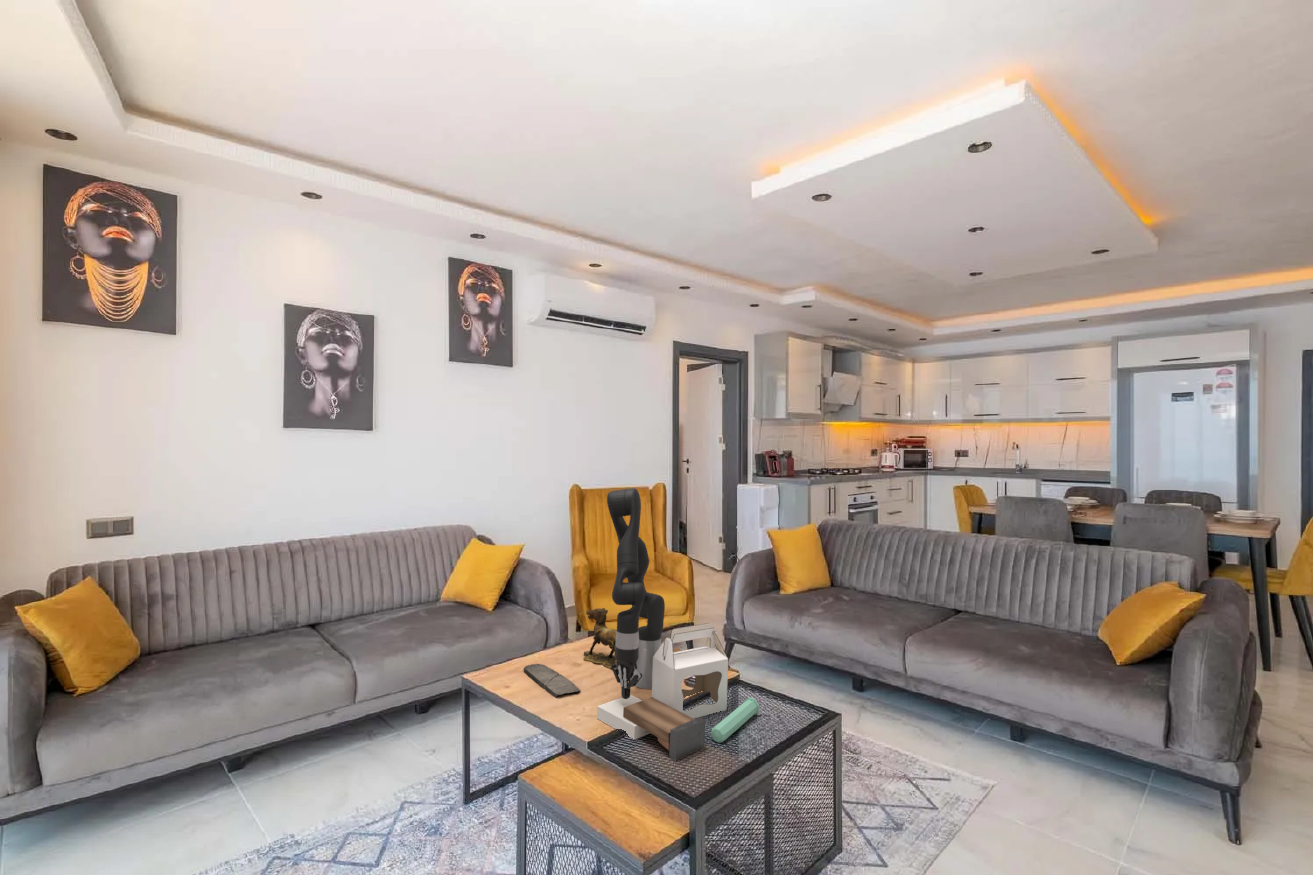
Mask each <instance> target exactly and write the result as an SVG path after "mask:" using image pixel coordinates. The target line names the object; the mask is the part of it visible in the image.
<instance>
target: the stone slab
mask: <svg viewBox="0 0 1313 875" xmlns="http://www.w3.org/2000/svg"><path fill="white" fill-rule="evenodd" d="M523 673H524V674H525V675H526V676H527V677H528V678H530V679H531V680H532V681H533V682H534V683H535V684H536V685H538V686H539V687H540V688H542V689H543V690H544V691H546V692H547V693H548V694H549V695H550V696H552V697H553V698H557V697H558V696H561V695H564V694H570V693H575V692H576V693H581V689H580V688H579V687H578V686H577V685H576V684H575V683H573V682H572V681H571V680H570V678H569V679H568V677H566V676H564V675H563V674H560V673H559V672H558V671H556V670H554V669H553V668H551V667H549V666H547V665H545V664H542V663H533V664H528V665H525V666H524V667H523Z"/></svg>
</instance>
